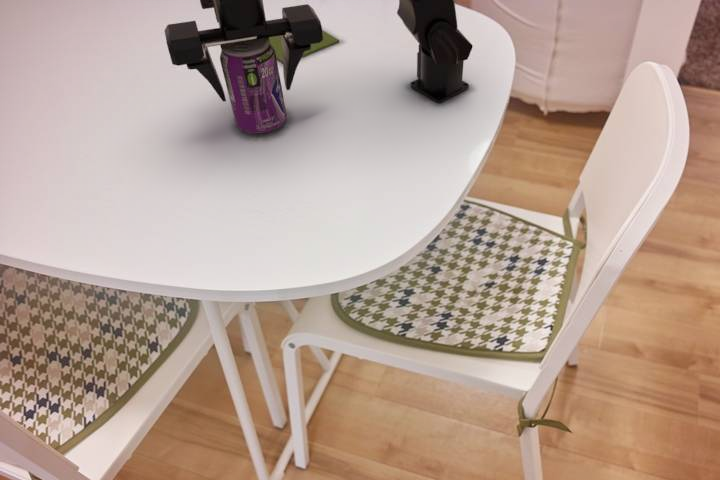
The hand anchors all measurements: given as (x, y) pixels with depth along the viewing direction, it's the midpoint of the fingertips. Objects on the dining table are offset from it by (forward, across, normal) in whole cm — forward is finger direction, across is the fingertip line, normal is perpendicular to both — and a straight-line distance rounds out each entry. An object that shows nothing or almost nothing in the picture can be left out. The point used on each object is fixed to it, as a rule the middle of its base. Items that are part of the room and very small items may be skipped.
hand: (256, 94), depth 83 cm
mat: (+4, -9, -22) cm, 24 cm away
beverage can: (+5, 0, 0) cm, 5 cm away
